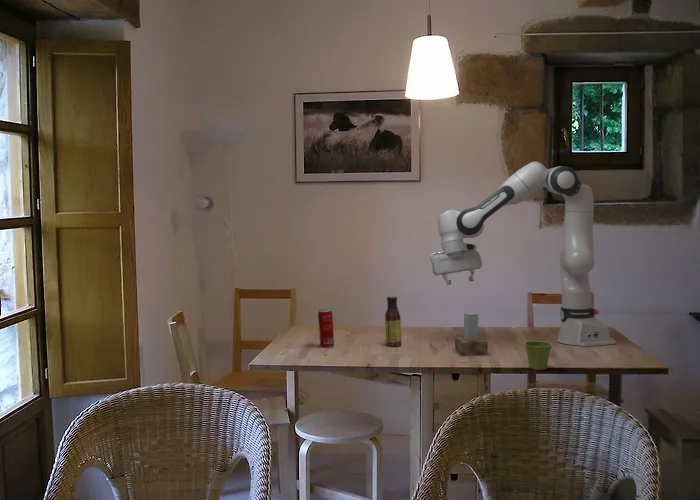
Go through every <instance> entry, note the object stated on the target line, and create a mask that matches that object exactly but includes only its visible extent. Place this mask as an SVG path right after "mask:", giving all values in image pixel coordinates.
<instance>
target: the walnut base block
mask: <svg viewBox="0 0 700 500" xmlns="http://www.w3.org/2000/svg"><path fill="white" fill-rule="evenodd" d="M488 347H489V346H488V341H487V340H486V339H485V338H484V337H482V336H478V340H474V341H468V340H465V339H464V336H462V337H461V336H459V337H458V336H456V337H454V350H456V351H457V352H458V353H459V354H460V355H461V356H465V357H473V356H472V355H488V354H489V353H488V352H489V351H488Z"/></svg>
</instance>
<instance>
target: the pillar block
mask: <svg viewBox="0 0 700 500" xmlns="http://www.w3.org/2000/svg"><path fill="white" fill-rule="evenodd" d="M463 337H464V339H465V340H468V341H474V340H478V337H479V314H478V313H476V312H464V313H463Z"/></svg>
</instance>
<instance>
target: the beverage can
mask: <svg viewBox="0 0 700 500" xmlns="http://www.w3.org/2000/svg"><path fill="white" fill-rule="evenodd" d="M333 317H334V316H333V312H332V309H330V308H323V309H318V313H317V319H318V320H317V321H318V336H319V337H318V338H319V346H320V348H322V349H324V348H325V349H328V348H332V347H334V346H335V338H334V337H335V335H334V320H333Z"/></svg>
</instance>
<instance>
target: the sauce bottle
mask: <svg viewBox="0 0 700 500" xmlns="http://www.w3.org/2000/svg"><path fill="white" fill-rule="evenodd" d="M386 301H387V308H386V311H385V313H384V315H385V320H384V321H385V322H384V323H385V326H384V327H385V342H386V346H388V347H393V348H394V347H400V346H402V327H401V326H402V323H401V322H402V321H401V320H402V319H401V314H400V311H399V309H398V297H397V295H391V296H386Z"/></svg>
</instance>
